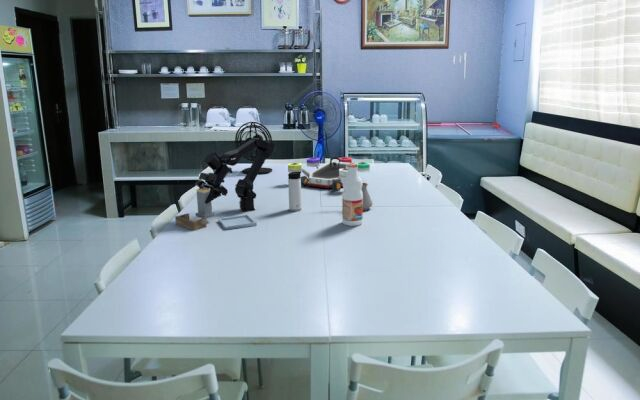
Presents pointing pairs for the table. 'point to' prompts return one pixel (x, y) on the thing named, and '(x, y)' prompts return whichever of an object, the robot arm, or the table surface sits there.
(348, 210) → the fruit juice
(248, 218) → the slate tray
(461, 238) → the table surface
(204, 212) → the grey upright block piece
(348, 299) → the table surface
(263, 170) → the desk fan
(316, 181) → the cart
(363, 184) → the coffee pot
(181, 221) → the walnut bay
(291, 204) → the travel mug
